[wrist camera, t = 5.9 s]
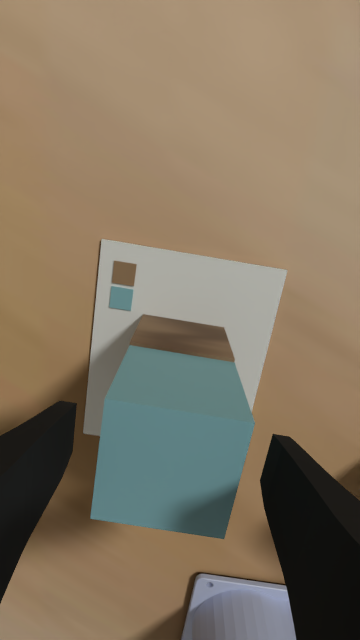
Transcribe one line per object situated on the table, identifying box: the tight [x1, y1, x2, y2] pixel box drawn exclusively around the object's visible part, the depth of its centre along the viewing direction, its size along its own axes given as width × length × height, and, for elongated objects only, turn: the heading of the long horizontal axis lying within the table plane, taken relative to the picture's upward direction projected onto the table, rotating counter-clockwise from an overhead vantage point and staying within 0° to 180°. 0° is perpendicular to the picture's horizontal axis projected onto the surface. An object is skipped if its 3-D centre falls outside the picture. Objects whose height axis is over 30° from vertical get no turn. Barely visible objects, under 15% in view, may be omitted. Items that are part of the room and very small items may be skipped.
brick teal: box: [90, 345, 255, 539], centre depth 13 cm, size 5×5×5 cm
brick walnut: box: [129, 314, 235, 362], centre depth 17 cm, size 5×5×5 cm
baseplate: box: [83, 239, 287, 436], centre depth 20 cm, size 10×12×1 cm
